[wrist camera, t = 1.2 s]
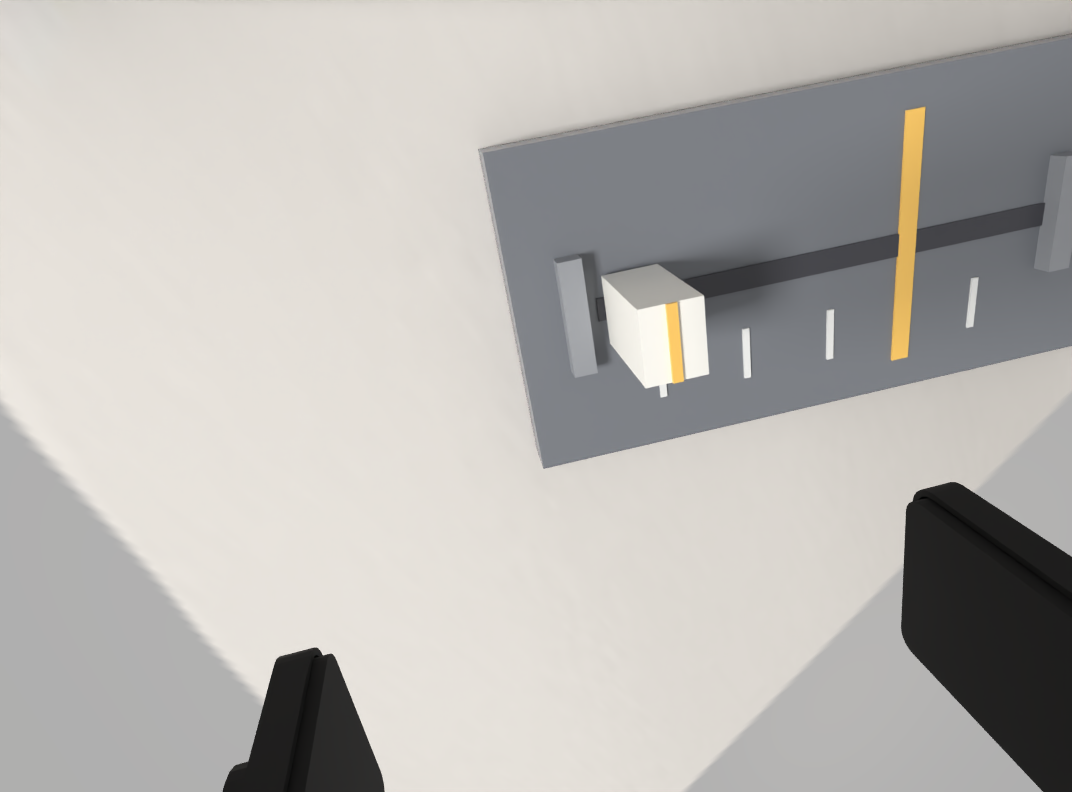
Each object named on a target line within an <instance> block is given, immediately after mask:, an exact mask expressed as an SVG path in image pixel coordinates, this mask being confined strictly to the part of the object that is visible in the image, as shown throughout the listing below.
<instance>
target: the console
mask: <svg viewBox="0 0 1072 792" xmlns="http://www.w3.org/2000/svg"><path fill="white" fill-rule="evenodd" d="M478 150H479V155H480V160H481V165H482V170H483V176H484V181H485V186H486V191H487V196H488V201H489V206H490V211H491V217H492V222H493V227H494V232H495V237H496V242H497V247H498V252H499V258H500V263H501V268H502V273H503V278H504V283H505V288H506V293H507V299H508V304H509V309H510V314H511V319H512V324H513V329H514V335H515V340H516V345H517V350H518V355H519V360H520V365H521V370H522V376H523V381H524V386H525V391H526V396H527V401H528V406H529V411H530V417H531V422H532V427H533V432H534V437H535V442H536V447H537V451H538V454H539V457H540V460H541V463H542V465H543V468H544V469H545V468H549V467H553V466H557V465H562V464H566V463H570V462H575V461H579V460H583V459H587V458H592V457H596V456H600V455H605V454H609V453H613V452H618V451H622V450H626V449H630V448H635V447H639V446H643V445H648V444H652V443H656V442H660V441H665V440H669V439H673V438H678V437H682V436H686V435H691V434H695V433H699V432H703V431H708V430H712V429H716V428H721V427H725V426H729V425H734V424H738V423H742V422H746V421H751V420H755V419H759V418H764V417H768V416H772V415H776V414H781V413H785V412H789V411H794V410H798V409H802V408H807V407H811V406H815V405H819V404H824V403H828V402H832V401H837V400H841V399H845V398H850V397H854V396H858V395H862V394H867V393H871V392H875V391H880V390H884V389H888V388H892V387H897V386H901V385H905V384H910V383H914V382H918V381H923V380H927V379H931V378H935V377H940V376H944V375H948V374H953V373H957V372H961V371H965V370H970V369H974V368H978V367H983V366H987V365H991V364H996V363H1000V362H1004V361H1008V360H1013V359H1017V358H1021V357H1026V356H1030V355H1034V354H1039V353H1043V352H1047V351H1051V350H1056V349H1060V348H1064V347H1069V346H1072V34H1068V35H1062V36H1057V37H1052V38H1047V39H1042V40H1037V41H1032V42H1027V43H1021V44H1016V45H1011V46H1006V47H1001V48H996V49H991V50H986V51H980V52H975V53H970V54H965V55H960V56H955V57H950V58H945V59H939V60H934V61H929V62H924V63H919V64H914V65H909V66H904V67H898V68H893V69H888V70H883V71H878V72H873V73H868V74H862V75H857V76H852V77H847V78H842V79H837V80H832V81H827V82H821V83H816V84H811V85H806V86H801V87H796V88H791V89H786V90H780V91H775V92H770V93H765V94H760V95H755V96H750V97H745V98H739V99H734V100H729V101H724V102H719V103H714V104H709V105H704V106H698V107H693V108H688V109H683V110H678V111H673V112H668V113H663V114H657V115H652V116H647V117H642V118H637V119H632V120H627V121H621V122H616V123H611V124H606V125H601V126H596V127H591V128H586V129H580V130H575V131H570V132H565V133H560V134H555V135H550V136H545V137H539V138H534V139H529V140H524V141H519V142H514V143H509V144H504V145H498V146H493V147H488V148H483V149H478ZM654 264H658V265H660V266H661V267H663V268H664V269H666V270H667V271H669V272H670V273H672V274H673V275H675V276H676V277H678V278H679V279H680V280H682V281H683V282H685V283H686V284H688V285H689V286H691V287H692V288H694V289H695V290H697V291H698V292H700V293H701V294H703V295H704V303H705V319H706V334H707V349H708V364H709V374H708V375H703V376H699V377H695V378H690V379H686V380H684V382H679V383H675V384H673V383H668V384H664V385H659V386H655V387H650V388H645V387H644V386H643V384H642V383H641V382H640V381H639V379H638V378H637V377H636V376H635V374H634V373H633V372H632V371H631V369H630V368H629V367H628V365H627V364H626V363H625V362H624V360H623V359H622V358H621V357H620V355H619V354H618V353H617V352H616V350H615V349H614V348H613V347H612V345H611V344H610V339H609V332H608V324H607V316H606V309H605V301H604V294H603V286H602V278H601V276H602V275H607V274H612V273H616V272H621V271H626V270H631V269H635V268H640V267H645V266H649V265H654Z"/></svg>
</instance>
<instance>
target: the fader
mask: <svg viewBox="0 0 1072 792" xmlns="http://www.w3.org/2000/svg"><path fill="white" fill-rule="evenodd" d="M601 278H602V286H603V294H604V301H605V309H606V316H607V324H608V332H609V339H610V344H611V345H612V347H613V348H614V349H615V350H616V352H617V353H618V354H619V355H620V357H621V358H622V359H623V360H624V362H625V363H626V364H627V365H628V367H629V368H630V369H631V371H632V372H633V373H634V374H635V376H636V377H637V378H638V379H639V381H640V382H641V383H642V384H643V386H644V387H645V388H650V387H655V386H659V385H664V384H668V383H673V384H675V383H679V382H684V380H686V379H690V378H695V377H699V376H703V375H708V374H709V364H708V349H707V334H706V319H705V303H704V295H703V294H701V293H700V292H698V291H697V290H695V289H694V288H692V287H691V286H689V285H688V284H686V283H685V282H683V281H682V280H680V279H679V278H678V277H676V276H675V275H673V274H672V273H670V272H669V271H667V270H666V269H664V268H663V267H661V266H660V265H658V264H654V265H649V266H645V267H640V268H635V269H631V270H626V271H621V272H616V273H612V274H607V275H602V276H601Z"/></svg>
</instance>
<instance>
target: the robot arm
mask: <svg viewBox="0 0 1072 792" xmlns="http://www.w3.org/2000/svg"><path fill="white" fill-rule="evenodd" d="M901 629H902V635H903V638H904V640H905V643H906V645H907V646H908V648H909V649H910V650H911V652H912V653H913V654H914V655H915V656H916V657H917V658H918V659H919V661H920V662H921V663H923V665H924V666H925V667H926V668H927V669H928V670H929V671H930V672H931V673H932V674H933V675H934V676H935V678H936V679H937V680H938V681H939V682H940V683H941V684H942V685H943V686H944V687H945V688H946V689H947V690H948V691H949V692H950V693H951V695H952V696H954V698H955V699H956V700H957V701H958V702H959V703H960V704H961V705H962V706H963V707H964V708H965V709H966V710H967V711H968V712H969V714H970V715H971V716H972V717H973V718H974V719H975V720H976V721H977V722H978V723H979V724H980V725H981V726H982V727H983V728H984V730H985V731H986V732H987V733H988V734H989V735H990V736H991V737H992V738H993V739H994V740H995V741H996V742H997V743H998V744H999V745H1000V746H1001V747H1002V749H1003V750H1004V751H1005V752H1006V753H1007V754H1008V755H1009V756H1010V757H1011V758H1012V759H1013V760H1014V761H1015V762H1016V763H1017V765H1018V766H1019V767H1020V768H1021V769H1022V770H1023V771H1024V772H1025V773H1026V774H1027V775H1028V776H1029V777H1030V778H1031V779H1032V780H1033V782H1034V783H1035V784H1036V785H1037V786H1038V787H1039V788H1040V789H1041V790H1042V791H1043V792H1072V557H1071V556H1070V555H1068V554H1067V553H1065V552H1064V551H1062V550H1060V549H1059V548H1057V547H1056V546H1054V545H1053V544H1051V543H1050V542H1048V541H1047V540H1045V539H1043V538H1042V537H1041V536H1039V535H1038V534H1036V533H1035V532H1033V531H1031V530H1030V529H1028V528H1027V527H1025V526H1024V525H1022V524H1021V523H1019V522H1018V521H1016V520H1015V519H1013V518H1012V517H1010V516H1009V515H1007V514H1006V513H1004V512H1002V511H1001V510H999V509H998V508H996V507H995V506H993V505H992V504H990V503H989V502H987V501H986V500H984V499H983V498H981V497H980V496H978V495H977V494H975V493H974V492H972V491H970V490H969V489H967V488H966V487H964V486H963V485H961V484H959V483H956V482H950V483H946V484H942V485H938V486H934V487H930V488H926V489H923V490H920V491H918V492H916V494H915V495H914V498H913V502H911V503H909V504H908V506H907V509H906V526H905V549H904V574H903V599H902V622H901ZM223 792H384V783H383V778H382V774H381V771H380V769H379V766H378V764H377V761H376V759H375V756H374V754H373V751H372V749H371V746H370V744H369V741H368V739H367V736H366V734H365V731H364V729H363V726H362V724H361V721H360V719H359V716H358V714H357V711H356V708H355V706H354V703H353V701H352V698H351V696H350V693H349V691H348V688H347V686H346V683H345V681H344V678H343V676H342V673H341V671H340V668H339V666H338V663H337V661H336V659H335V657H334V655H333V654H327V655H324V656H323V655H322V653H321V651H320V650H319V649H318V648H311V649H307V650H303V651H299V652H296V653H292V654H288V655H284V656H280V657H279V658H277V659H276V662H275V664H274V668H273V671H272V675H271V679H270V683H269V686H268V690H267V694H266V698H265V701H264V705H263V709H262V713H261V717H260V720H259V724H258V728H257V731H256V735H255V739H254V743H253V747H252V750H251V754H250V758H249V761H248V762H246V763H242V764H239V765H235V766H234V767H233V769H232V770H231V771H230V772H229V775H228V777H227V780H226V782H225V785H224V788H223Z"/></svg>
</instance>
